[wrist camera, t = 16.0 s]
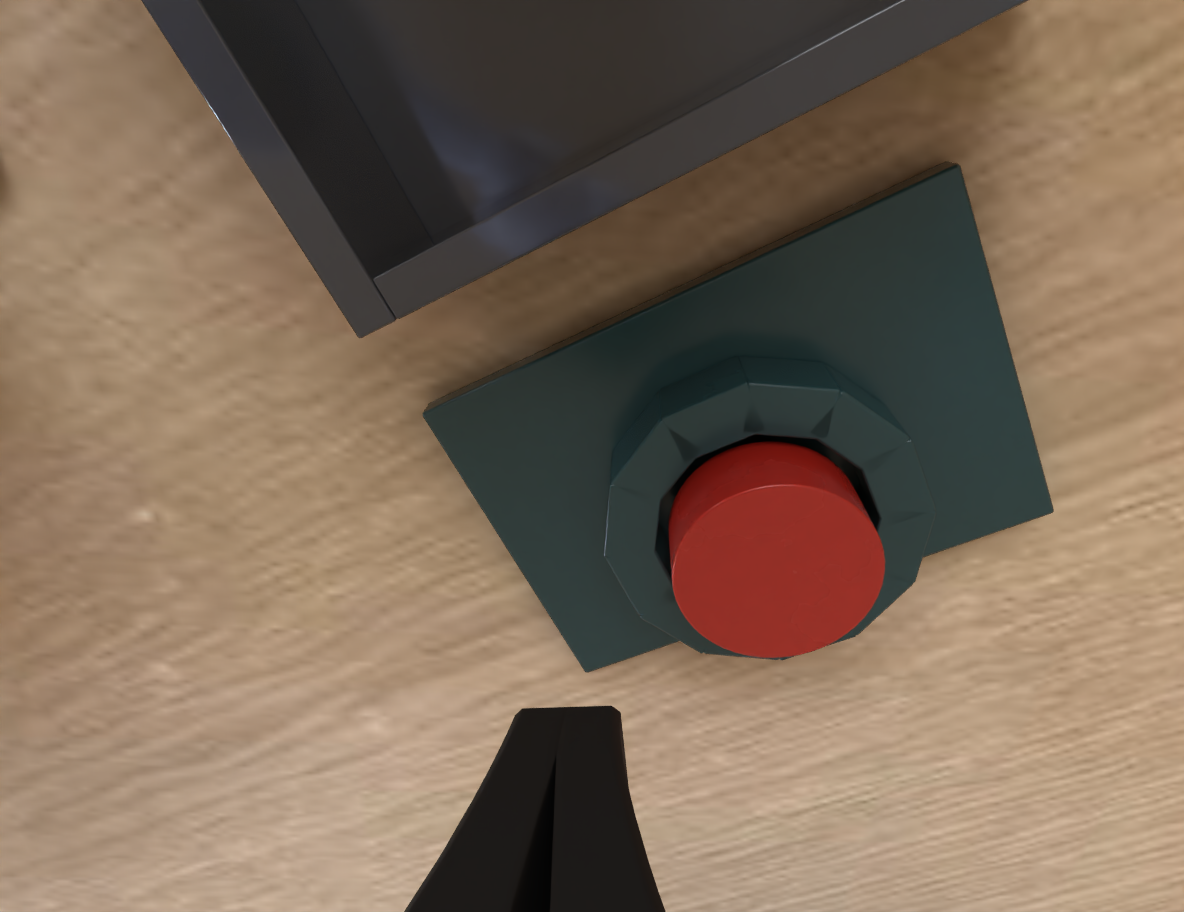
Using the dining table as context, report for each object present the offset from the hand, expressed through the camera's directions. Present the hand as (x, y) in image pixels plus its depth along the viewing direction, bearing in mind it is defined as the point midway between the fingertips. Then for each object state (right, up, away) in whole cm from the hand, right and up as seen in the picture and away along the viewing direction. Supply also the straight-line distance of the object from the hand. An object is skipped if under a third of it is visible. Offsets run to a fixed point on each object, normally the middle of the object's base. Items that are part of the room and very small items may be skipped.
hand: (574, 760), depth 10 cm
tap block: (+4, +4, +9) cm, 10 cm away
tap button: (+4, +3, +7) cm, 9 cm away
